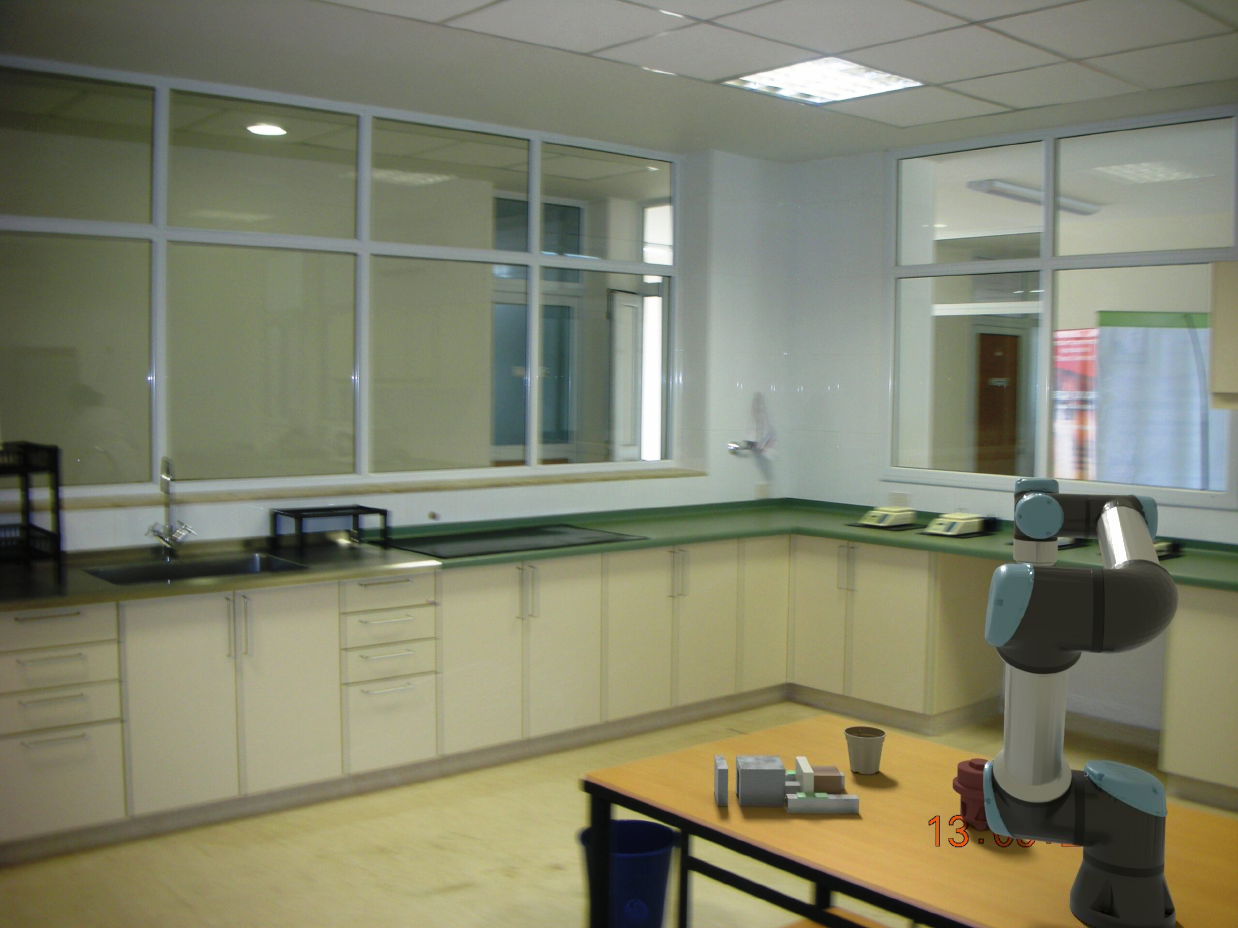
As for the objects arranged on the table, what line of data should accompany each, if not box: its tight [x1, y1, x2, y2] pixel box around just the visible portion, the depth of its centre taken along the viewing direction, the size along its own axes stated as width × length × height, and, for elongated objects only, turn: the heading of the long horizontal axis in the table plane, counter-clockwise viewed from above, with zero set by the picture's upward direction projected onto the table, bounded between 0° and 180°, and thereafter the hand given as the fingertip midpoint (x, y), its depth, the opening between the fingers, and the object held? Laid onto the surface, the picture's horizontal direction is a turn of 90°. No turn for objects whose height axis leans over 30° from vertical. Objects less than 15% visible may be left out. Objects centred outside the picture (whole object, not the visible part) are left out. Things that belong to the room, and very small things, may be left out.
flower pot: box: [842, 725, 888, 775], centre depth 235 cm, size 9×9×9 cm
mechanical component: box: [952, 757, 989, 832], centre depth 204 cm, size 12×10×10 cm
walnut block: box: [810, 765, 842, 794], centre depth 218 cm, size 6×6×6 cm
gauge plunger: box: [785, 756, 814, 798], centre depth 218 cm, size 10×14×7 cm
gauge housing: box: [713, 754, 860, 815], centre depth 218 cm, size 16×28×8 cm, turn 90°
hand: (1031, 690), depth 194 cm, fingers closed
